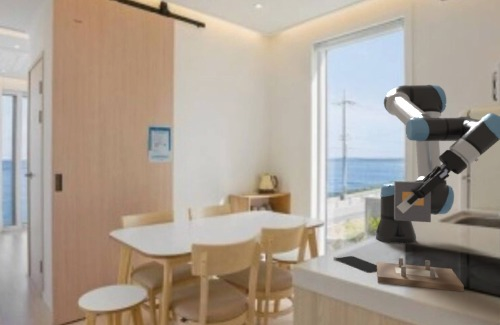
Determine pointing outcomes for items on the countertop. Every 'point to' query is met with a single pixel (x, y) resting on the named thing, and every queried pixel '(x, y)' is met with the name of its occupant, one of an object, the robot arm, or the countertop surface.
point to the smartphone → (358, 264)
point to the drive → (418, 210)
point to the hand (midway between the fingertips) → (399, 208)
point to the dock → (418, 276)
